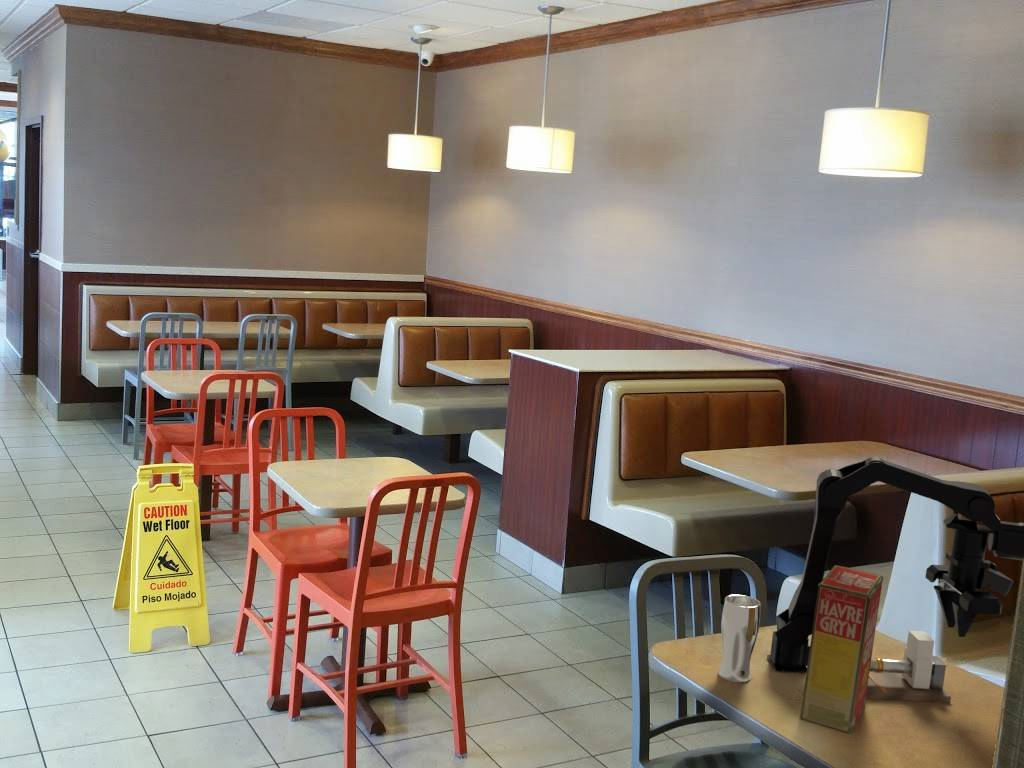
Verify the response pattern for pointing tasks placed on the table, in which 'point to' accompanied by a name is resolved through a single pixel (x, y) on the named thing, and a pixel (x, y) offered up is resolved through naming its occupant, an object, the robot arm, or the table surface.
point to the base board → (901, 689)
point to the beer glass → (738, 636)
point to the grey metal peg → (910, 669)
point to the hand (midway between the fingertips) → (955, 632)
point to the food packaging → (841, 648)
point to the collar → (919, 659)
